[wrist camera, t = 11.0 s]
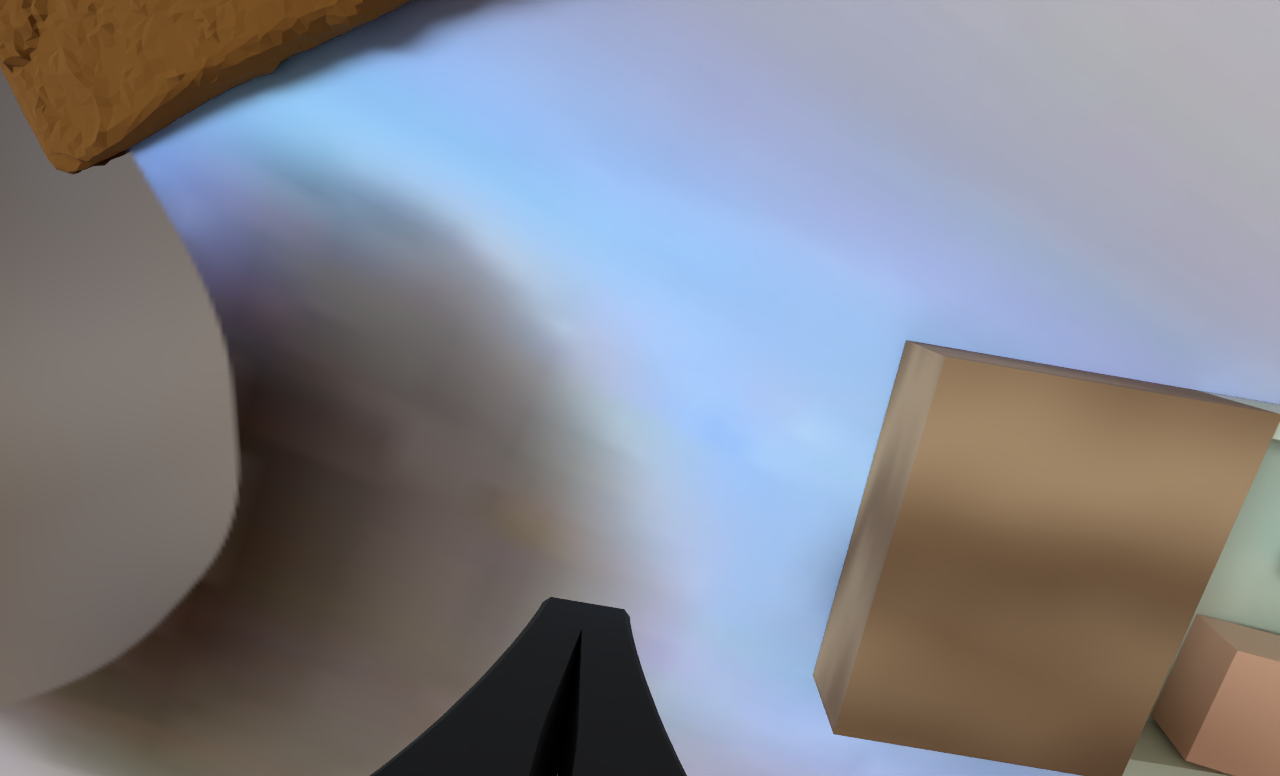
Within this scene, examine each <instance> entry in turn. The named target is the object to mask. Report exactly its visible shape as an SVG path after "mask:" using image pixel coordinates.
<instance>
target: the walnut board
mask: <svg viewBox="0 0 1280 776" xmlns="http://www.w3.org/2000/svg"><path fill="white" fill-rule="evenodd" d="M1279 422H1280V414H1278V413H1275V412H1271V411H1268V410H1264V409H1261V408H1257V407H1254V406H1250V405H1247V404H1243V403H1240V402H1236V401H1233V400H1229V399H1226V398H1222V397H1219V396H1215V395H1212V394H1208V393H1205V392H1201V391H1197V390H1192V389H1186V388H1180V387H1174V386H1168V385H1163V384H1157V383H1151V382H1145V381H1139V380H1134V379H1128V378H1122V377H1116V376H1110V375H1105V374H1099V373H1093V372H1087V371H1081V370H1076V369H1070V368H1064V367H1058V366H1052V365H1047V364H1041V363H1035V362H1029V361H1024V360H1018V359H1012V358H1006V357H1000V356H995V355H989V354H983V353H977V352H971V351H966V350H960V349H954V348H948V347H942V346H937V345H931V344H925V343H919V342H913V341H908V340H906V343H905V346H904V350H903V354H902V357H901V361H900V364H899V368H898V372H897V375H896V379H895V382H894V386H893V390H892V393H891V397H890V400H889V404H888V408H887V411H886V415H885V418H884V422H883V426H882V429H881V433H880V436H879V440H878V443H877V447H876V451H875V454H874V458H873V461H872V465H871V469H870V472H869V476H868V479H867V483H866V487H865V490H864V494H863V497H862V501H861V505H860V508H859V512H858V515H857V519H856V523H855V526H854V530H853V533H852V537H851V541H850V544H849V548H848V551H847V555H846V558H845V562H844V566H843V569H842V573H841V576H840V580H839V584H838V587H837V591H836V594H835V598H834V602H833V605H832V609H831V612H830V616H829V620H828V623H827V627H826V630H825V634H824V638H823V641H822V645H821V648H820V652H819V655H818V659H817V663H816V666H815V670H814V673H813V677H814V679H815V682H816V685H817V688H818V691H819V694H820V697H821V700H822V702H823V705H824V708H825V711H826V714H827V717H828V720H829V722H830V725H831V728H832V731H833V734H836V735H842V736H848V737H854V738H860V739H866V740H872V741H878V742H884V743H890V744H896V745H902V746H908V747H914V748H920V749H926V750H932V751H938V752H944V753H950V754H956V755H962V756H968V757H975V758H981V759H987V760H993V761H999V762H1005V763H1011V764H1017V765H1023V766H1029V767H1035V768H1041V769H1047V770H1053V771H1059V772H1065V773H1071V774H1077V775H1083V776H1122V775H1123V773H1124V770H1125V768H1126V766H1127V764H1128V761H1129V759H1130V757H1131V755H1132V752H1133V750H1134V748H1135V746H1136V744H1137V741H1138V739H1139V737H1140V735H1141V732H1142V730H1143V728H1144V726H1145V723H1146V721H1147V719H1148V717H1149V714H1150V712H1151V710H1152V708H1153V705H1154V703H1155V701H1156V699H1157V696H1158V694H1159V692H1160V690H1161V687H1162V685H1163V683H1164V681H1165V678H1166V676H1167V674H1168V672H1169V669H1170V667H1171V665H1172V663H1173V660H1174V658H1175V656H1176V654H1177V651H1178V649H1179V647H1180V645H1181V642H1182V640H1183V638H1184V636H1185V633H1186V631H1187V629H1188V627H1189V624H1190V622H1191V620H1192V618H1193V615H1194V613H1195V611H1196V609H1197V606H1198V604H1199V602H1200V600H1201V597H1202V595H1203V593H1204V591H1205V588H1206V586H1207V584H1208V582H1209V579H1210V577H1211V575H1212V573H1213V570H1214V568H1215V566H1216V564H1217V561H1218V559H1219V557H1220V555H1221V552H1222V550H1223V548H1224V546H1225V543H1226V541H1227V539H1228V537H1229V534H1230V532H1231V530H1232V528H1233V525H1234V523H1235V521H1236V519H1237V516H1238V514H1239V512H1240V510H1241V507H1242V505H1243V503H1244V501H1245V498H1246V496H1247V494H1248V492H1249V490H1250V487H1251V485H1252V483H1253V481H1254V478H1255V476H1256V474H1257V472H1258V469H1259V467H1260V465H1261V463H1262V460H1263V458H1264V456H1265V454H1266V451H1267V449H1268V447H1269V445H1270V442H1271V440H1272V438H1273V436H1274V433H1275V431H1276V429H1277V427H1278V424H1279Z"/></svg>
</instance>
